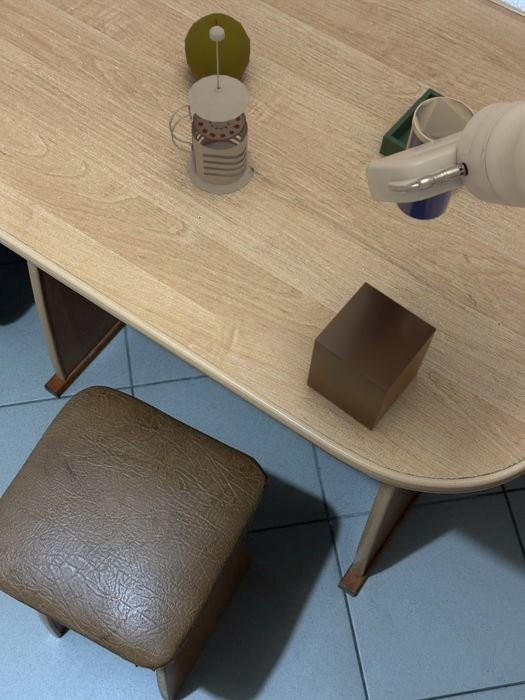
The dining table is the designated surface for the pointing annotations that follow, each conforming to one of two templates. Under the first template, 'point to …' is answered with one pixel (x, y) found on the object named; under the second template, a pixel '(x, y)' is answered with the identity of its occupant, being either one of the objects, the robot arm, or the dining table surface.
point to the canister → (428, 126)
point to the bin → (403, 128)
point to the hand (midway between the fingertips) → (432, 149)
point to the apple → (229, 49)
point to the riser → (368, 355)
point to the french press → (217, 131)
